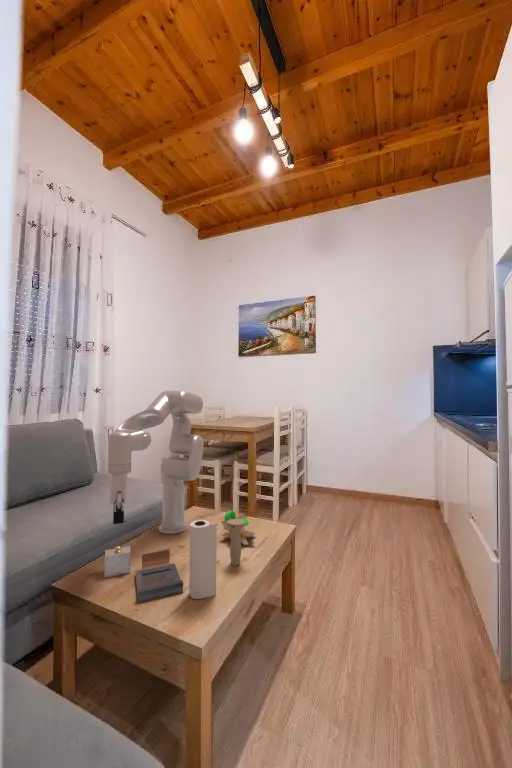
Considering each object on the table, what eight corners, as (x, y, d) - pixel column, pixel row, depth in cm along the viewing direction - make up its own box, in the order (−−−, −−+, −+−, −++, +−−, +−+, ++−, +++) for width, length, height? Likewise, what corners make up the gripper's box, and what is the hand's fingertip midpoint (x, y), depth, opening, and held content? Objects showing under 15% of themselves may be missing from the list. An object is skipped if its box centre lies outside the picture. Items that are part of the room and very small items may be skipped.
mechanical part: (234, 534, 143) (234, 515, 143) (224, 530, 146) (224, 512, 146) (251, 525, 152) (251, 508, 152) (241, 522, 156) (241, 505, 156)
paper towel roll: (185, 594, 99) (185, 523, 99) (199, 585, 104) (200, 517, 104) (201, 604, 94) (202, 529, 95) (216, 594, 99) (216, 523, 100)
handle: (229, 559, 120) (229, 518, 120) (245, 562, 118) (246, 520, 119) (224, 566, 115) (225, 523, 116) (241, 568, 114) (242, 525, 114)
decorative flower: (263, 540, 136) (263, 516, 136) (249, 551, 126) (249, 525, 126) (232, 532, 143) (233, 509, 144) (217, 543, 133) (218, 518, 134)
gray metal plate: (135, 575, 109) (135, 566, 109) (174, 567, 114) (174, 558, 114) (138, 602, 95) (138, 592, 95) (183, 592, 100) (183, 582, 100)
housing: (104, 570, 112) (105, 545, 113) (129, 565, 115) (130, 541, 116) (104, 578, 108) (104, 552, 108) (130, 573, 111) (130, 547, 111)
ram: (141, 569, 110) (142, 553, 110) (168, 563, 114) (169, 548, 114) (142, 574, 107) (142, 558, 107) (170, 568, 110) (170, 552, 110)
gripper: (108, 464, 119) (107, 511, 118) (107, 474, 103) (105, 529, 103) (130, 462, 122) (129, 508, 121) (132, 472, 106) (131, 525, 106)
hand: (118, 518), depth 112 cm, fingers open, 9 cm apart
